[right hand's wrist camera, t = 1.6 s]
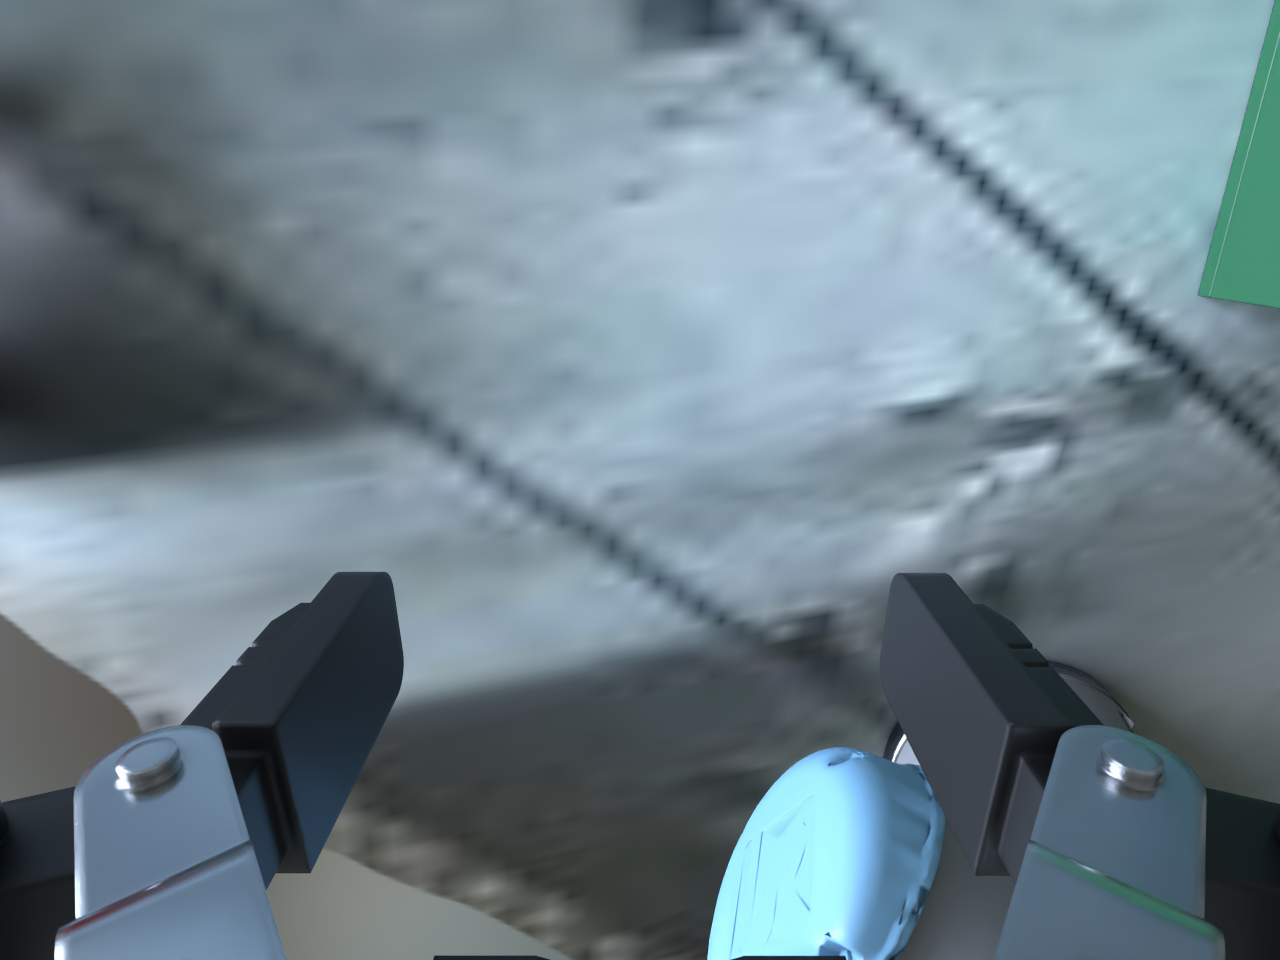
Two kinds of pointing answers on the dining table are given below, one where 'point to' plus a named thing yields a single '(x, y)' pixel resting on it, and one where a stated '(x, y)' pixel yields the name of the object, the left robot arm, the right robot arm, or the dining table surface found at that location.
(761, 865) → the left robot arm
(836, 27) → the dining table surface
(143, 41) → the dining table surface
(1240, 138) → the cabinet
